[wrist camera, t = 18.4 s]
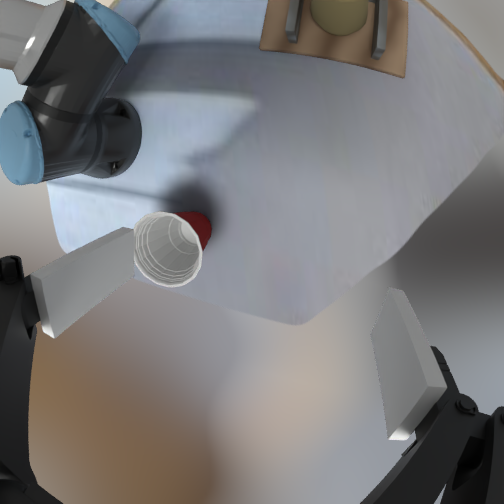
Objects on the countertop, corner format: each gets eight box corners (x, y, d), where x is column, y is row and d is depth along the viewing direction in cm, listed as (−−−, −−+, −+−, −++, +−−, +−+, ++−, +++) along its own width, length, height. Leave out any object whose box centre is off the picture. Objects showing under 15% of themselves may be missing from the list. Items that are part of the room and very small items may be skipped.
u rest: (260, 50, 36) (251, 36, 31) (273, -20, 31) (267, -39, 26) (403, 78, 33) (414, 68, 28) (406, 4, 28) (415, -11, 22)
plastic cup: (216, 269, 50) (188, 302, 39) (162, 244, 51) (124, 268, 40) (237, 211, 46) (210, 231, 35) (178, 187, 47) (138, 199, 36)
